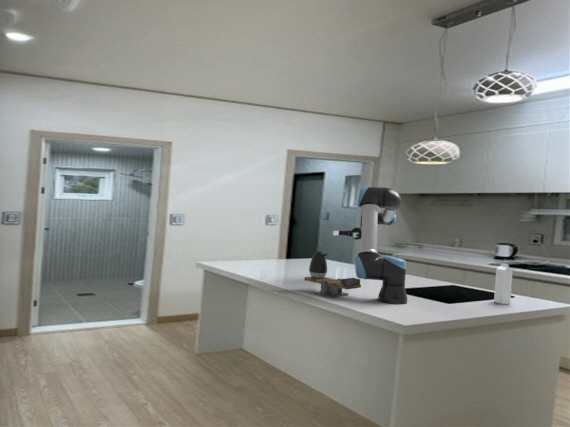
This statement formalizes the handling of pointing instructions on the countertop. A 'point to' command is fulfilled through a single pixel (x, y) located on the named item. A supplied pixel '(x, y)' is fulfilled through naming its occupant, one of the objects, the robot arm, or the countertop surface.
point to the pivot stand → (330, 290)
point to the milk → (503, 284)
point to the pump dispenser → (318, 265)
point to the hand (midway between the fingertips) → (342, 234)
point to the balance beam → (338, 282)
